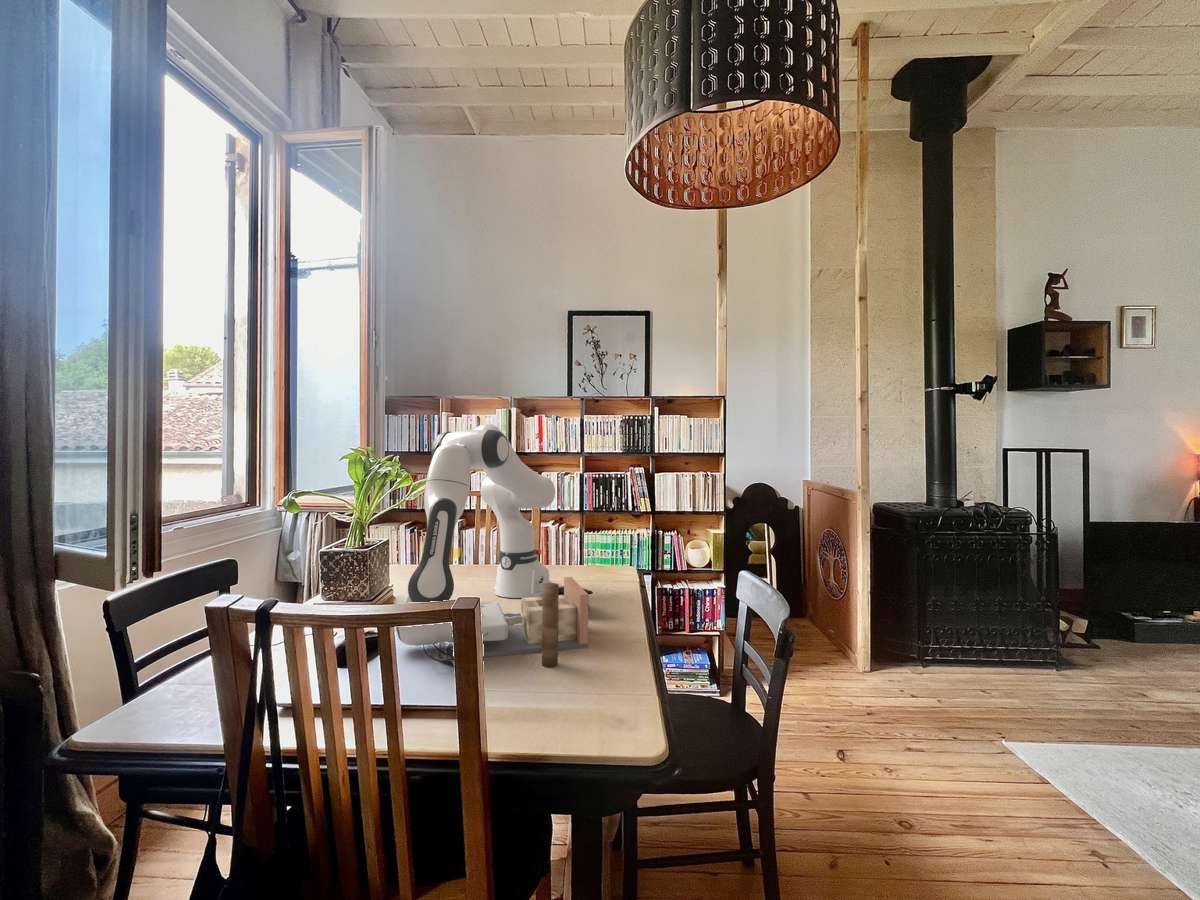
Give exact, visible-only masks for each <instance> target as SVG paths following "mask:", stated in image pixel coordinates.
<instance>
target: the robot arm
mask: <svg viewBox="0 0 1200 900" xmlns="http://www.w3.org/2000/svg"><path fill="white" fill-rule="evenodd" d="M479 469H482V470H483V471H484V472H485V475H486V476H487V477H486V478H485V479H484V480H483V481H482V483H481V486H480V496H481V499H482V501H483V502H484V504H486V505H488V507H489V508H490V509H491V510H492V512H493V513H494V515H495V517H496V520H497V523H498V526H499V528H498V529H499V541H500V543H499V544H500V549H499V551H498V562H499V564H498V565H497V570H496V578H495V579H496V580H495V585H493V590H494V594H495V595H496V596H499V597H502V598H510V599H511V598H512V599H518V598H519V599H520V598H525V597H540V596H543V584H546V583H556V582H555V581H552V580H550V571H549V569H548V568H547V567H546V566H545V565H544V564H543V563H541V561H539V560H538V556H541V555H542V552H543V551H542V549H541V548H535V528H534V527H535V526H533V524H532V522H531V521H529V520H528V519H527V518H526V517H524V516H523V514H522V513H521V510H520V509H527V510H528V509H530V510H536V509H543V508H548V507H550V506H551V504H552V503H553V501H554V500H555V498H556V497H555V496H556V487H555V484H554V482H553V481H552V480H551V478H548V477H546V476H544V475H542V474H540V473H538V472H536V471H534V470H533V469H532V468H530V467H529V466H527V465H526V464H525V463H524V462H523V461H522V460H521V459H520V457H519V456H518V455H517V453H516V451H515V450H514V448H513V446H512V444H511V442H510V441H509V439H508V438H507V436H506V435H505V434H504V433H503V432H502V431H501V429H500V428H498V427H497V426H496V425H494V424H492V423H482V424H480V425H478V426H476V427H475V428H474V429H467V430H457V431H456V430H455V431H445V432H442V433H439V434H438V435H437V436H436V437H435V438H434V440H433V442H432V443H431V460H430V464H429V468H428V471H427V475H426V481H425V486H424V498H423V499H424V500H423V501H424V512H425V515H426V532H425V538H424V544H423V549H422V555H421V558H420V562H419V564H418V565H417V567H416V568H415V570H414V571H413V573H412V574H411V576H410V577H409V580H408V584H407V592H408V593H407V595H406V597H405V599H404V602H403V603H408V602H430V601H443V600H449V601H450V599H451V598H452V595H453V594H454V589H455V581H454V578H453V573H452V571H451V567H450V560H451V552H452V551H451V550H452V543H453V537H454V533H455V529H456V525H457V523H458V521H459V519H460V518H461V516H462V515H463V513H464V510H465V509H466V508H465V507H466V504H467V500H468V497H469V492H470V488H471V476H472V474H471V473H472V470H479ZM480 602H481V614H482V634H483V641H500V640H505V639H507V638H508V627H509V626H512V625H521V623H522V622H523V617H522V615H521V613H520V612H516V613H514V612H509V611H505V612H503V610H502V607H501V604H500V603H499V602H496V601H480ZM395 629H396V633H397V636H398V637H397V638H398V639H399V641H400V642H401V643H403V644H404V645H407V646H428V645H429V646H430V645H436V644H439V643H443V642H444V643H445V642H447V643H454V642H453V637H452V626H451V623H443V624H434V625H422V626H412V627H396V626H395Z"/></svg>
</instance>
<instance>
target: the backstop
mask: <svg viewBox="0 0 1200 900" xmlns="http://www.w3.org/2000/svg"><path fill="white" fill-rule="evenodd" d="M563 579H564V580H563V582H564V583H563V587H564V595H567V596H568V598H569V599H570V600H571V601H572V602H573V604H574V605H575V606H576V607H577V637H576V640H566V641H558V651H560V650H561V651H563V650H572V649H581V648H582V649H583V648H589V612H588V604H589V595H588V593H587V592H586V591H585V590H584V589H585V588H584V587H582V586H581V585H580V584H579V583H578V582H577V581H576V580H575V579H574V578H573V577H572V576H566V577H564V578H563ZM483 644H484V657H483V658H488V657H487V656H491V657H501V656H509V655H510V656H511V655H519V654H520V655H521V654H522V655H523V654H531V653H532V654H533V653H539V652H540V653H542V643H533V644H528V642H527V640H526V637H525V635H524V633H523V631H522V629H521V624H515V625H512V626H509V627H508V638H507V639H505V640H500V641H483Z"/></svg>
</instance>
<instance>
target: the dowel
mask: <svg viewBox="0 0 1200 900" xmlns="http://www.w3.org/2000/svg"><path fill="white" fill-rule="evenodd" d="M559 588H560V587H559V584H558V583H556V582H555V583H546V584H543V595H542V596H543V598H542V652H541V666H542V667H543V668H544V667H545V668H547V669H549V668H555V667H557V666H558V665H559V650H558V600H559Z"/></svg>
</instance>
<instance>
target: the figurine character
mask: <svg viewBox="0 0 1200 900" xmlns="http://www.w3.org/2000/svg"><path fill="white" fill-rule="evenodd" d="M583 589H584V590H585V591H586V592H587V593H588V596H589V595H592V594H594V593H593V591H592V590H588V589H586V588H583ZM559 595H564V586H562V587H559ZM589 612H590V604H589V603H588V613H589Z"/></svg>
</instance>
